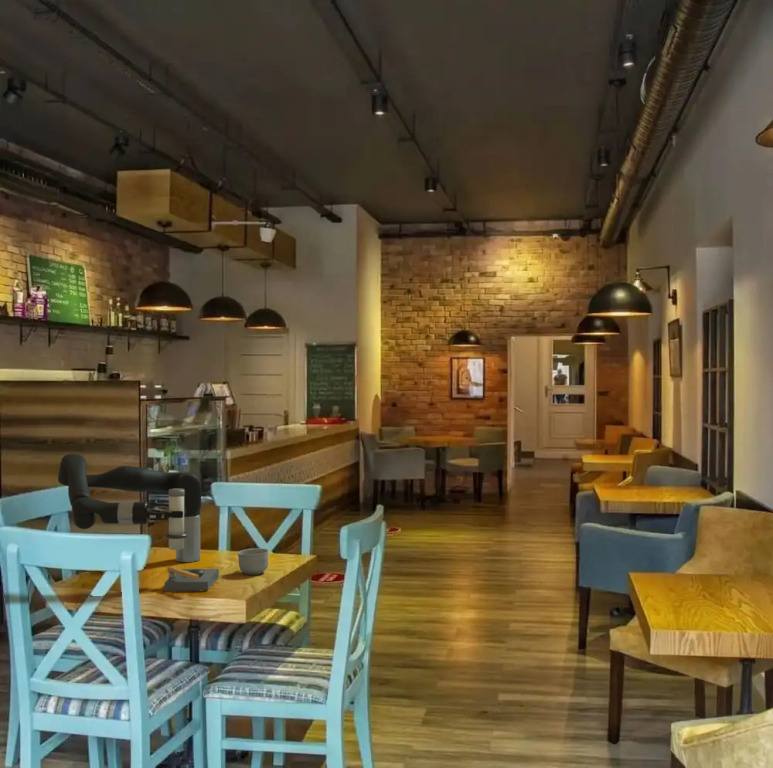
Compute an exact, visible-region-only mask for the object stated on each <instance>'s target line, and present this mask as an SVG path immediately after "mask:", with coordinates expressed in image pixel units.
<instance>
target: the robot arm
mask: <svg viewBox="0 0 773 768" xmlns="http://www.w3.org/2000/svg"><path fill="white" fill-rule="evenodd" d="M87 463H88V462H87V459H86V458H85V457H84V456H83V455H81V454H79V453H78V454H77V453H68V454H67V453H66V454H65V455H64V456H63V457H62V458H61V461H60V464H59V469H58V474H57V475H58V476H57V481H58V483H59V484H61V485H63V486H66V487H68V488H67V490H68V491H67V492H68V499H69V503H70V506H71V509H72V510H71V511H72V517H73V523H74V525H75V526H76V527H77V528H79V529H81V530H88V529H90V528H92V527H93V526H94V525H95V523H96V516H97V515H98V516H99V518H100V520H101V522H102V523H104V524H116V525H117V524H120V525H147V524H148V523H149V521H162V520H163V521H164V520H165V521H167V520H168V521H169V519H171V517H172V518H182V517H183V511H172V512H171V511H169V505H167V506H166V505H165V506H164V505H156V506H153V507H150V504H149V502H148V501H124V502H123V501H122V502H107V501H104V500H100V499H96V498H92V496H91V491H90V488H99V489H100V488H101V489H110V490H120V491H127V492H136V493H138V492H139V493H140V492H141V493H142V492H143V493H147V492H166V493H169V489H175V488H181V489H184V532H187V533H188V537H186V538H184V549H180V550H175V562H177V563H178V562H180V563H192V562H194V563H195V562H198V561H201V510H202V509H201V508H202V484H201V483H202V482H201V480H200V479H199V477H198V476H197V475H195V474H193V473H191V472H167V471H165V472H164V471H161V470H160V471H159V470H154V469H150V468H145V467H138V466H132V465H121V466H117V467H115V468H112V469H110V470H107V471H105V472H102V473H99V474H87V467H88V464H87Z"/></svg>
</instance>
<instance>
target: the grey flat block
mask: <svg viewBox="0 0 773 768" xmlns="http://www.w3.org/2000/svg"><path fill="white" fill-rule="evenodd" d="M180 569H181V570H184V571H188V572H191V573H194V574H197V575H199V579H195V580H194V579H191V578H188V577H185V576H182V575H179V574H176V573H173V572H168V578H167V580H165V582H164V592H201V591H200V590H209V591H210V589H211V588H212V587H213V585H214V584H215V583H216V582H217V580H218V579H219V578H218V577H220V569H219V568H180ZM215 581H216V582H215ZM214 582H215V583H214ZM213 583H214V584H213ZM211 586H212V587H211ZM210 587H211V588H210ZM209 588H210V589H209Z"/></svg>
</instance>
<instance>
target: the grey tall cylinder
mask: <svg viewBox="0 0 773 768" xmlns="http://www.w3.org/2000/svg"><path fill="white" fill-rule="evenodd" d="M168 506H169V510H168V511H171V512H172V511H183V517H182V518H172V517H171V519H168V532H166V533H165V534H164V538H165V539H167V540H168V549H169V550H171V551H172V550H173V551H176V550H180V549H184V538H186V537H188V533H187V532H184V489H181V488H175V489H169V492H168Z"/></svg>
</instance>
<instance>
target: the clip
mask: <svg viewBox="0 0 773 768" xmlns="http://www.w3.org/2000/svg"><path fill="white" fill-rule="evenodd" d="M181 569H182V568H178V566H168V567H167V569H166V571H167V573H169V572H173V573H176V574H179V575H182V576H185V577H188V578H191V579H194V580H195V579H199V575H197V574H194V573H191V572H188V571H184V570H181Z"/></svg>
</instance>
